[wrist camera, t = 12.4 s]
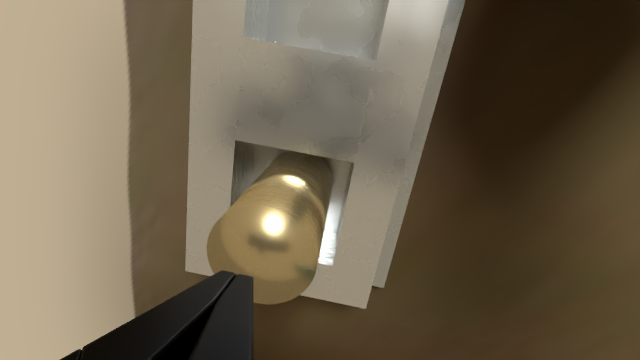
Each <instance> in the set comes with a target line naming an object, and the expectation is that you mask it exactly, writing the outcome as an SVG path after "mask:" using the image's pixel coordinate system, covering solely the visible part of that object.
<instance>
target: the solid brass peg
mask: <svg viewBox="0 0 640 360" xmlns="http://www.w3.org/2000/svg"><path fill="white" fill-rule="evenodd" d="M332 186H333V181H332V176H331V173H330V170H329V168H328V167H327V165H326V164H325V163H324V162H323V161H322V160H321V159H320V158H319V157H318V156H316V155H311V154H306V153H301V152H296V151H288V152H285V153H283V154H281V155H279V156H278V157H277V158H275V159H274V160H273V162H272V163H271V164H270V165H269V166H268V167H267V168H266V169H265V170H264V171H263V172H262V173H261V175H260V176H259V177H258V178H257V179H256V180H255V181H254V182H253V183H252V184H251V185H250V186H249V187H248V189H247V190H246V191H245V192H244V193H243V194H242V195H241V196H240V197H239V198H238V199H237V200H236V201H235V203H234V204H233V205H232V206H231V207H230V208H229V209H228V210H227V211H226V212H225V213H224V214H223V215H222V217H221V218H220V219H219V220H218V221H217V222H216V223H215V224H214V226H213V227H212V229H211V231H210V233H209V236H208V240H207V257H208V261H209V265H210V267H211V269H212V271H213V273H214V274H215V273H217V272H219V271H221V270H225V271H230V272H234V273H236V274H237V275H238V274H244V275H249V276H252V277H253V279H254V303H260V304H278V303H283V302H286V301H289V300H292V299H294V298H296V297H297V296H299V295H300V294H302V293H303V292H304V291H305V290H306V289H307V288H308V287H309V285H310V284H311V282H312V281H313V278H314V276H315V273H316V269H317V264H318V259H319V254H320V249H321V244H322V239H323V234H324V229H325V223H326V218H327V213H328V208H329V203H330V198H331V193H332Z"/></svg>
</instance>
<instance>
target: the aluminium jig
mask: <svg viewBox="0 0 640 360" xmlns="http://www.w3.org/2000/svg"><path fill="white" fill-rule="evenodd" d="M464 4H465V0H193V19H192V55H191V90H190V126H189V161H188V196H187V232H186V267H185V271H188V272H193V273H198V274H202V275H207V276H212V275H213V274H214V273H213V271H212V269H211V267H210V265H209V261H208V257H207V240H208V236H209V233H210V231H211V229H212V227H213V226H214V224H215V223H216V222H217V221H218V220H219V219H220V218H221V217H222V215H223V214H224V213H225V212H226V211H227V210H228V209H229V208H230V207H231V206H232V205H233V204H234V203H235V201H236V200H237V199H238V198H239V197H240V196H241V195H242V194H243V193H244V192H245V191H246V190H247V189H248V187H249V186H250V185H251V184H252V183H253V182H254V181H255V180H256V179H257V178H258V177H259V176H260V175H261V173H262V172H263V171H264V170H265V169H266V168H267V167H268V166H269V165H270V164H271V163H272V162H273V160H274V159H275V158H277V157H278V156H279V155H281V154H283V153H285V152H288V151H296V152H301V153H306V154H311V155H316V156H318V157H319V158H320V159H321V160H322V161H323V162H324V163H325V164H326V165H327V167H328V168H329V170H330V173H331V176H332V181H333V186H332V193H331V198H330V203H329V208H328V213H327V218H326V223H325V229H324V234H323V239H322V244H321V249H320V254H319V259H318V264H317V269H316V273H315V276H314V278H313V281H312V282H311V284H310V285H309V287H308V288H307V289H306V290H305V291H304V292H303V293H302V294H300V295H302V296H307V297H312V298H316V299H321V300H326V301H331V302H335V303H340V304H345V305H350V306H354V307H359V308H364V309H366V306H367V302H368V299H369V295H370V291H371V288H372V286H377V287H381V288H384V285H385V281H386V278H387V274H388V271H389V267H390V264H391V260H392V257H393V253H394V250H395V246H396V243H397V239H398V236H399V232H400V229H401V225H402V222H403V218H404V214H405V211H406V207H407V204H408V200H409V197H410V193H411V190H412V186H413V183H414V179H415V176H416V172H417V169H418V165H419V162H420V158H421V155H422V151H423V148H424V144H425V141H426V137H427V134H428V130H429V127H430V123H431V120H432V116H433V113H434V109H435V106H436V102H437V98H438V95H439V91H440V88H441V84H442V81H443V77H444V74H445V70H446V67H447V63H448V60H449V56H450V53H451V49H452V46H453V42H454V39H455V35H456V32H457V28H458V25H459V21H460V18H461V14H462V11H463V7H464Z"/></svg>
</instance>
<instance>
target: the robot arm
mask: <svg viewBox="0 0 640 360" xmlns="http://www.w3.org/2000/svg"><path fill="white" fill-rule="evenodd" d="M253 339H254V279H253V277H252V276H249V275H244V274H238V275H237V274H236V273H234V272H230V271H225V270H221V271H219V272H217V273H215V274H213V275H212V276H210V277H208V278H206V279H204V280H203V281H201V282H199V283H197V284H195V285H194V286H192V287H190V288H188V289H186V290H185V291H183V292H181V293H179V294H177V295H176V296H174V297H172V298H170V299H168V300H167V301H165V302H163V303H161V304H159V305H158V306H156V307H154V308H152V309H150V310H149V311H147V312H145V313H143V314H141V315H140V316H138V317H136V318H134V319H132V320H131V321H129V322H127V323H125V324H124V325H122V326H120V327H118V328H116V329H114V330H113V331H111V332H109V333H107V334H106V335H104V336H102V337H100V338H98V339H96V340H95V341H93V342H91V343H89V344H87V345H86V346H84V347H83V349H82V350H80V349H78V350H76V351H75V352H73V353H71V354H70V355H68V356H66V357H64V358H62V359H60V360H253Z"/></svg>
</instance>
